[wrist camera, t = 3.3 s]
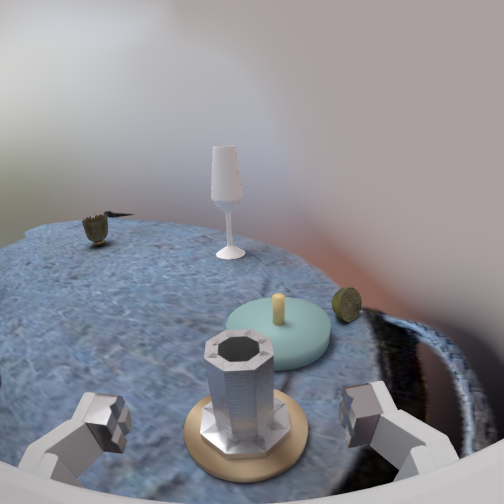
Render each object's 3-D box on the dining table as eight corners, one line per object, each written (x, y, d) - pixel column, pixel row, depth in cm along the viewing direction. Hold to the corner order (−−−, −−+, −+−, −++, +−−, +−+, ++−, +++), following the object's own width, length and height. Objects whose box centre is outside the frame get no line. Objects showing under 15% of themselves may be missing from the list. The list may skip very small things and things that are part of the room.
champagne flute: (213, 259, 71) (204, 148, 62) (218, 248, 77) (211, 146, 69) (243, 259, 70) (237, 146, 62) (247, 248, 77) (242, 144, 68)
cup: (110, 238, 89) (106, 212, 86) (113, 245, 83) (108, 217, 80) (86, 244, 85) (81, 217, 82) (87, 251, 79) (82, 223, 76)
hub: (288, 387, 34) (289, 342, 32) (206, 340, 43) (201, 300, 41) (347, 330, 44) (352, 290, 42) (271, 301, 53) (271, 265, 51)
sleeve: (247, 474, 23) (239, 402, 19) (186, 427, 28) (165, 350, 24) (305, 421, 28) (312, 342, 24) (244, 386, 33) (238, 309, 30)
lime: (360, 311, 49) (364, 282, 47) (357, 328, 44) (361, 298, 43) (333, 307, 50) (335, 279, 48) (328, 324, 46) (330, 294, 44)
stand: (249, 505, 20) (248, 500, 20) (162, 432, 28) (159, 426, 28) (330, 424, 29) (331, 417, 28) (244, 377, 36) (243, 370, 36)
